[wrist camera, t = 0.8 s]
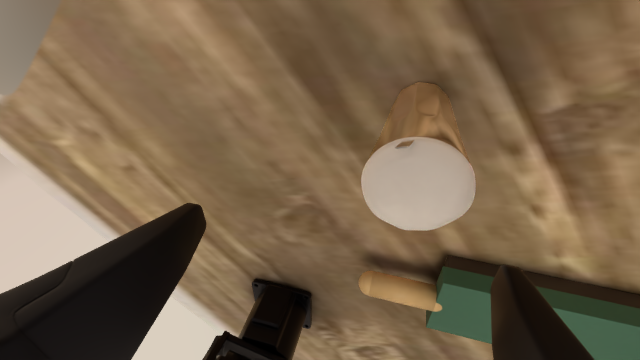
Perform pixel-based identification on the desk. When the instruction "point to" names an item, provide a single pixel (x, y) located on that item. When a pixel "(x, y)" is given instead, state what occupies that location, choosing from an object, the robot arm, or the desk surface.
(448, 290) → the brush
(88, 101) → the desk surface
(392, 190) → the milkshake
